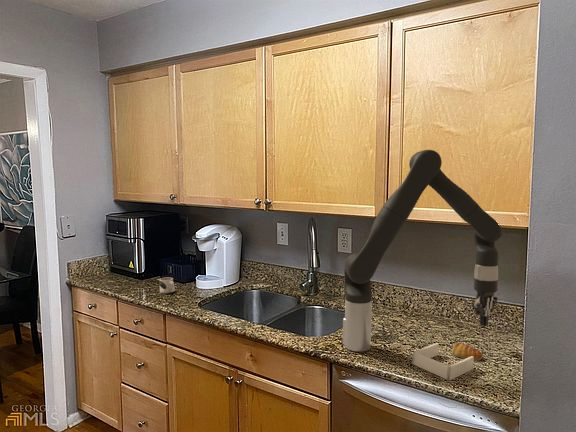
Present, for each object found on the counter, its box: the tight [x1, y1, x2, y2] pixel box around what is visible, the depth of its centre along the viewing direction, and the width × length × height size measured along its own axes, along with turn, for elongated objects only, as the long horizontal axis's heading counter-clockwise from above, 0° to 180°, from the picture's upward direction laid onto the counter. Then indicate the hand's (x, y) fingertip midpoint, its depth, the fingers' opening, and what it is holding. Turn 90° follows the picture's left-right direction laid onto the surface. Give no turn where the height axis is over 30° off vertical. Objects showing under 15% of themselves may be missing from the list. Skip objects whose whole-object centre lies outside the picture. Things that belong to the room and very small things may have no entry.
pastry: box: [451, 342, 484, 361], centre depth 146 cm, size 9×7×4 cm
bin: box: [411, 342, 475, 381], centre depth 139 cm, size 14×13×4 cm
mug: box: [158, 276, 176, 294], centre depth 221 cm, size 10×7×7 cm
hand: (483, 325), depth 152 cm, fingers closed
